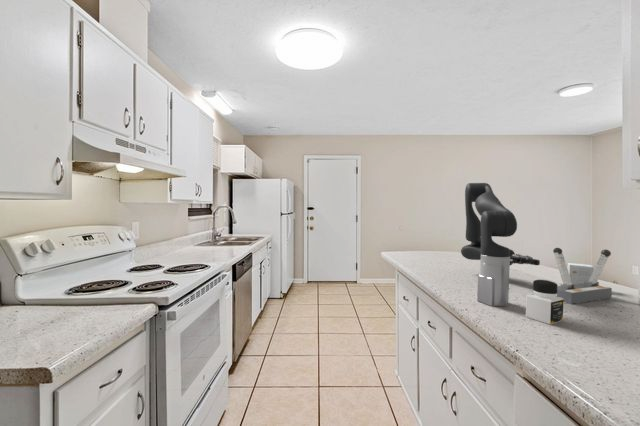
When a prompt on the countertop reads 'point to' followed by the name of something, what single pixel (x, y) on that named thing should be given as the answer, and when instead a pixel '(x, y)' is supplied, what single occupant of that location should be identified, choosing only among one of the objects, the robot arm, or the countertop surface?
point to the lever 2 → (599, 266)
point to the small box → (579, 272)
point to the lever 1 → (562, 267)
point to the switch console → (583, 292)
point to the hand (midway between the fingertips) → (538, 262)
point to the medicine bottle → (544, 303)
